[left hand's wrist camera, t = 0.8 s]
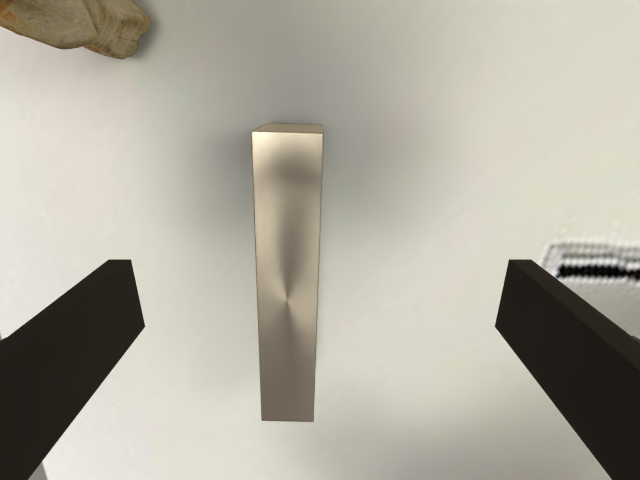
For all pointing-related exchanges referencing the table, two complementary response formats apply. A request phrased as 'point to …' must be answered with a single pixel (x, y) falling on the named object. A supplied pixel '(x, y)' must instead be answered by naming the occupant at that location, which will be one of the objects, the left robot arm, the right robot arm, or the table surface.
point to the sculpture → (78, 24)
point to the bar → (287, 264)
